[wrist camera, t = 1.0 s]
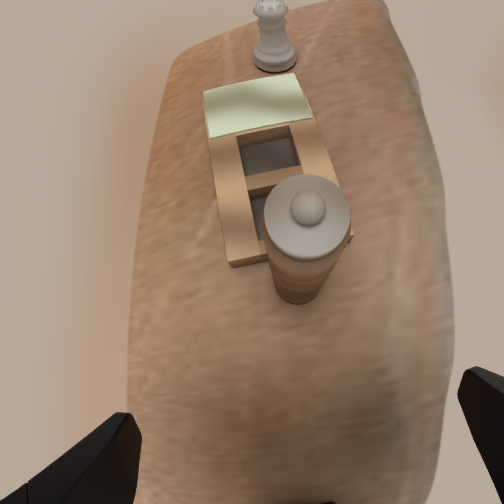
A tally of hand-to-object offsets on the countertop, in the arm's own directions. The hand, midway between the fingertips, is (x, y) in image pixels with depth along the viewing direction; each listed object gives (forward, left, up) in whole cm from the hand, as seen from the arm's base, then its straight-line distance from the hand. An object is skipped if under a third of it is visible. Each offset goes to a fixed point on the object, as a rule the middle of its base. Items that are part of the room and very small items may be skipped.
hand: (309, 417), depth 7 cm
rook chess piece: (+29, -5, -16) cm, 33 cm away
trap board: (+16, -1, -15) cm, 22 cm away
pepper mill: (+6, -1, -15) cm, 16 cm away
